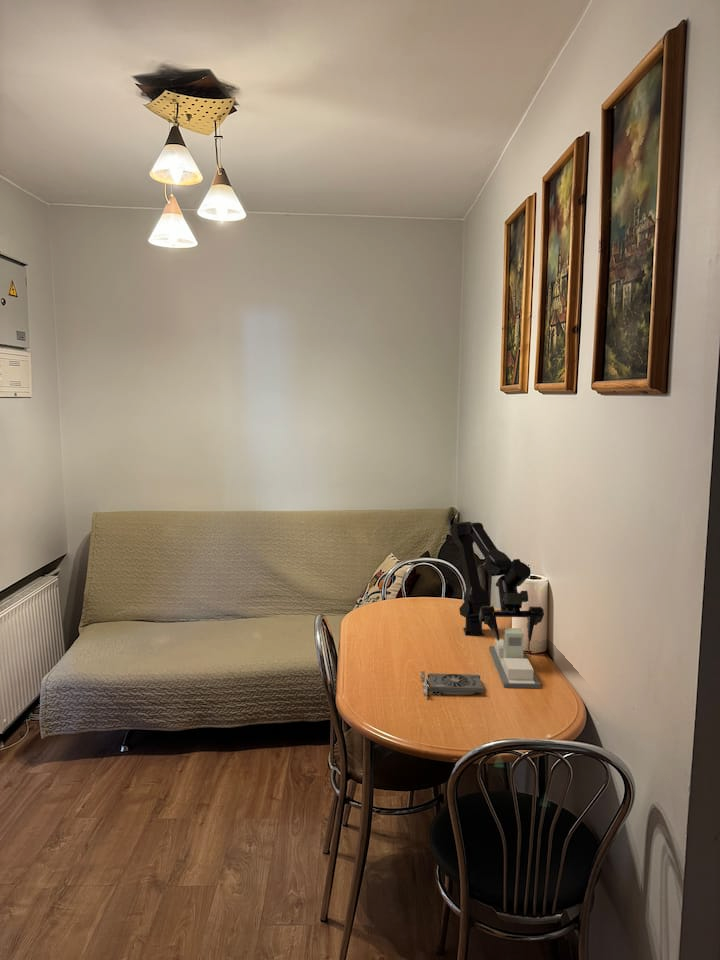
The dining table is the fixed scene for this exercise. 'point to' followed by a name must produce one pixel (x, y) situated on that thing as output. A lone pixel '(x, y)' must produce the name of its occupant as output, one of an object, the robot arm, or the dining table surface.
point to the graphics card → (452, 683)
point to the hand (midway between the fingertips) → (514, 640)
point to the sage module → (513, 643)
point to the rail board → (503, 677)
